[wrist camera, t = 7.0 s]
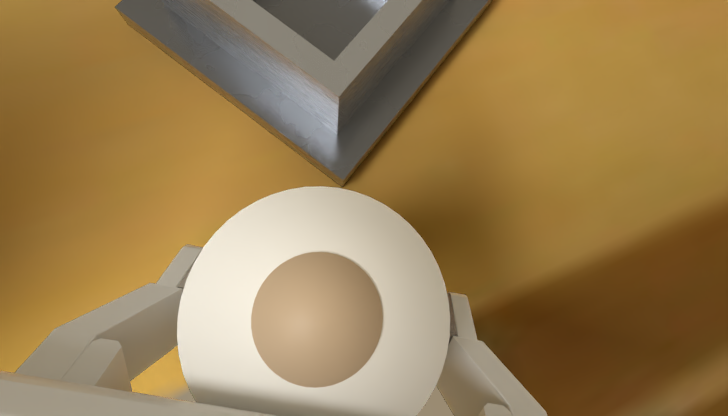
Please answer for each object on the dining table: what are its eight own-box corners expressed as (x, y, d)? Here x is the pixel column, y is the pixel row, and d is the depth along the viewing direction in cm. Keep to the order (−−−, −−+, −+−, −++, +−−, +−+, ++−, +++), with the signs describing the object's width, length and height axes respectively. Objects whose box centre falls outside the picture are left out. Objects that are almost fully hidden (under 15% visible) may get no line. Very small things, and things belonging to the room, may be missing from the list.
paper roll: (316, 221, 18) (300, 136, 8) (403, 290, 17) (500, 293, 8) (240, 311, 17) (113, 344, 7) (332, 386, 16) (338, 536, 6)
